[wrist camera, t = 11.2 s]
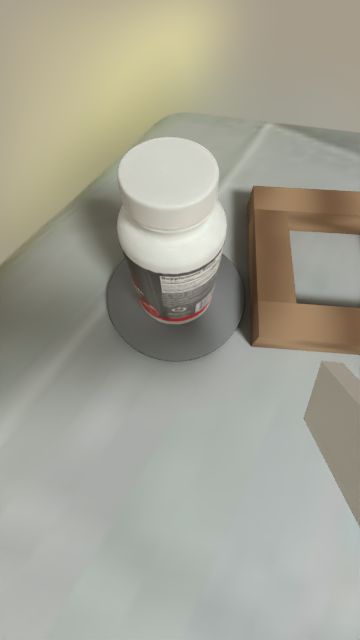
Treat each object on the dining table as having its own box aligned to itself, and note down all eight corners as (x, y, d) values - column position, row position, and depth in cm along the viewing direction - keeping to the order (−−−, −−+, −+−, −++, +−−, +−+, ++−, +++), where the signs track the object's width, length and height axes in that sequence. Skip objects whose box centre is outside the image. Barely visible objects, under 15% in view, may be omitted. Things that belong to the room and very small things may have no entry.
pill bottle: (128, 276, 20) (82, 144, 11) (193, 253, 20) (202, 112, 11) (154, 338, 18) (124, 241, 9) (225, 310, 18) (265, 193, 9)
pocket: (398, 214, 23) (417, 195, 21) (445, 361, 18) (476, 353, 16) (247, 205, 23) (253, 185, 21) (251, 346, 18) (259, 336, 16)
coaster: (242, 246, 21) (243, 242, 21) (244, 367, 17) (245, 365, 17) (121, 238, 22) (120, 234, 21) (96, 355, 18) (94, 353, 17)
